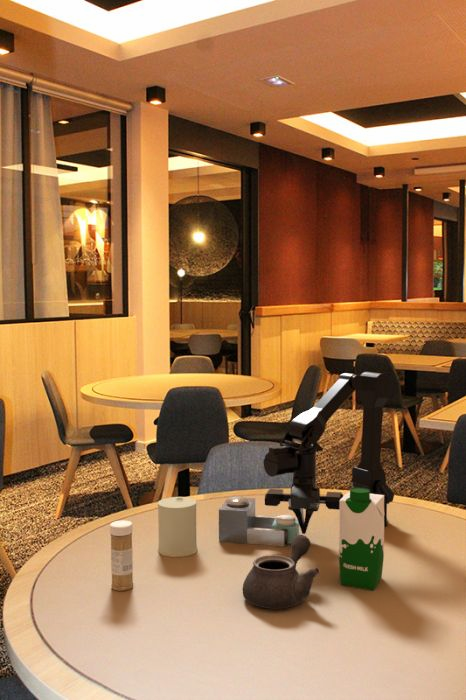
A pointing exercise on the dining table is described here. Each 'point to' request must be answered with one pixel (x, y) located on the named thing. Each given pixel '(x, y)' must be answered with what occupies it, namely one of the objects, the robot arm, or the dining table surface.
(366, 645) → the dining table surface
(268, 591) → the teapot
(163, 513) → the can
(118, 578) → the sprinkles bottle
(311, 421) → the robot arm
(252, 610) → the dining table surface
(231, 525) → the motor mount
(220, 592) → the dining table surface
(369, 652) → the dining table surface
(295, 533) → the teal cube with ball
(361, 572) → the milk carton
